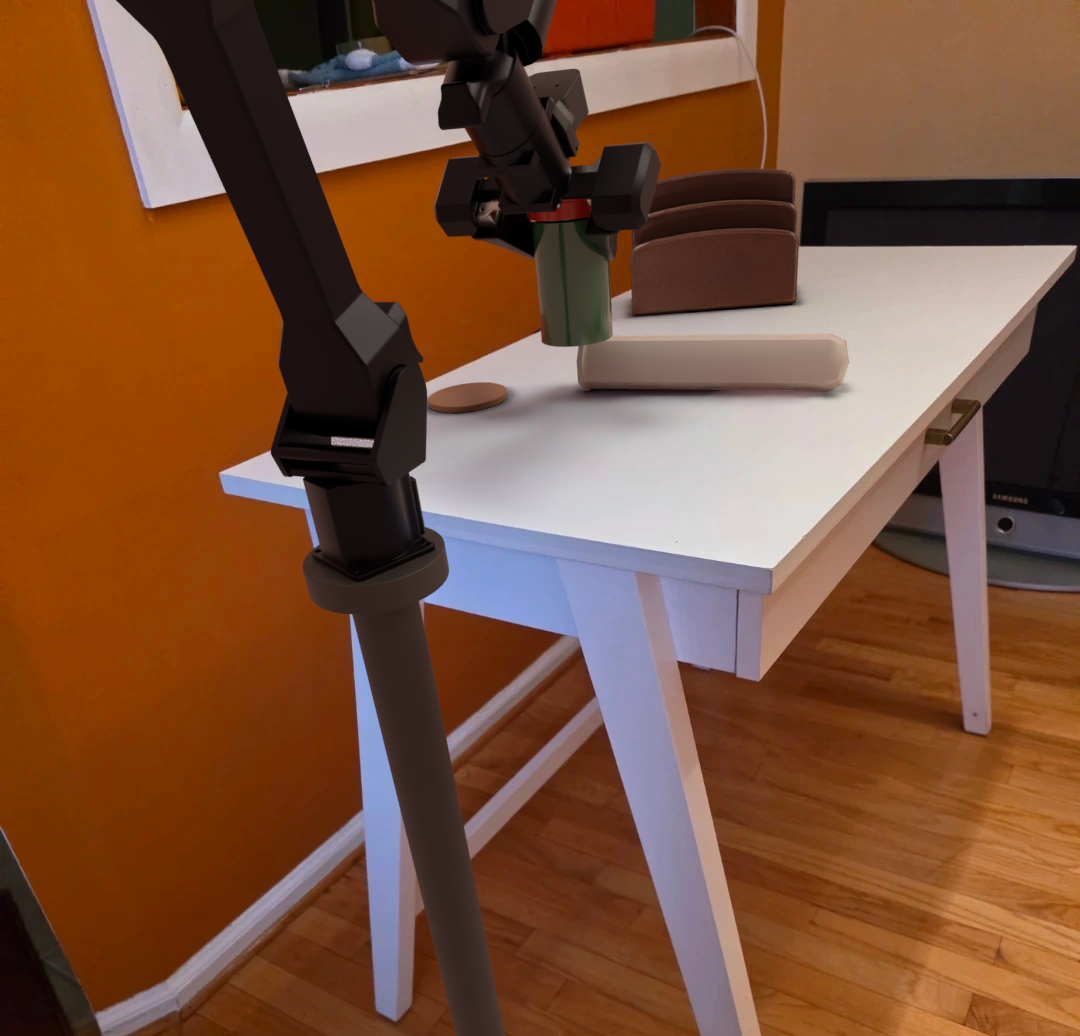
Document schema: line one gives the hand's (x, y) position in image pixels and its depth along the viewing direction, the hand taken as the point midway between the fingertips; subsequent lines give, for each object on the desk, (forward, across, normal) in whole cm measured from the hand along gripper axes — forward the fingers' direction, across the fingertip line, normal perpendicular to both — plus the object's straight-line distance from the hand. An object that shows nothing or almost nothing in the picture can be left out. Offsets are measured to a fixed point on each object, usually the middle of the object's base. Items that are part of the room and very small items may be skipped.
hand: (578, 257), depth 85 cm
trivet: (+8, +12, +10) cm, 18 cm away
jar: (+4, 0, +6) cm, 7 cm away
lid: (-4, 0, -2) cm, 5 cm away
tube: (+12, -11, +6) cm, 17 cm away
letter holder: (+36, 0, -19) cm, 41 cm away
